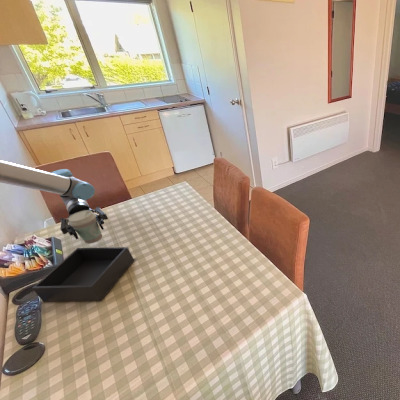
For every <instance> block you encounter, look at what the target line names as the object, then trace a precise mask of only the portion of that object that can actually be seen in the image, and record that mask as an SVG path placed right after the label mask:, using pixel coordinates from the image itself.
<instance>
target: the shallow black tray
mask: <svg viewBox="0 0 400 400" xmlns="http://www.w3.org/2000/svg"><path fill="white" fill-rule="evenodd" d="M133 262H135V259H134V257H133V254H132V253H131V252H130V249H129V247H128V246H119V247H118V246H115V247H114V246H112V247H77V248H76V249H74V250H73V252H71V253H70V254H68V256H67V257H65V258H64V259H63V260H62V261H61V262H59V264H57V266H55V267H54V268H53V269H52V270H51V271H49V272H48V273H47V274H46V275H45V276H44V277H43V278H42V279H40V280H39V281H38V282H37V283H36V284H35V285H34V286H33V287H31V289H32V290H33V291H34V292H35V293H36V295H37V296H38V297H39V298H40V300H41V301H42V302H43V303H55V302H56V303H57V302H58V303H59V302H61V303H62V302H97V301H98V302H101V301H102V300H103V299H104V298H105V296H106V295H107V294H108V293H109V292H110V291H111V289H112V288H113V287H114V286H115V284H116V283H117V282H118V281H119V279H120V278H121V277H122V275H124V273H126V271H127V270H128V269H129V267H130V266H131V265H132V264H133Z"/></svg>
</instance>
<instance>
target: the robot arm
mask: <svg viewBox="0 0 400 400" xmlns="http://www.w3.org/2000/svg"><path fill="white" fill-rule="evenodd" d="M0 183H2V184H6V185H10V186H11V185H12V186H16V187H22V188H25V189H32V190H36V191H42V192H47V193H52V194H55V195H56V194H57V195H59V197H60V198H61V200H62V202H63V204H64V205H65V208H66V211H67V213H68V216H67V218H64V217H62V218H60V219H59V221H60V228H59V229H60V231H61V233H62V234H63V235H67V234H68V235H69V236H73V237H74V238H75V240H79V236H78V233H77V232H76V231H75V229H74V228H73V227H72V226H71V225H69V220H68V219H69V217H70V216H71V215H73V214H75V213H77V212H81V211H86V210H89V211H92V212H93V213H94V214H95V215H96V220H97V223H98V226H99V228H100V230H101V231H103V230H105V229H104V226H103V225H104V224H105V223H106V222H105V221H106V220H108V219H109V217H108V215H107V213H106V212H105V211H103V210H102V209H101V207H100V206H96V207H95V208H94V209H92V208H91V206H90V205H89V203H88V201H87V200H90V199H92V198H93V196H94V195H95V194H96V190H95V187H94V185H92V184H91V183H89V182H88V181H84V180H81V179H79V178H76V177H74V174H73V173H72V172H71V170H70V169H67V168H62V169H57V170H54V171H51V172H49V171H45V170H41V169H36V168H33V167H29V166H24V165H21V164H16V163H13V162H9V161H5V160H1V159H0Z"/></svg>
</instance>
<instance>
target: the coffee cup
mask: <svg viewBox="0 0 400 400" xmlns="http://www.w3.org/2000/svg"><path fill="white" fill-rule="evenodd" d="M95 214H96V213H95V212H94V213H93V212H92V211H89V210H86V211H81V212H77V213H75V214H73V215H71V216H70V217H69V216H68V217H69V219H68V220H69V222H68V223H69V225H71V226H72V227H73V228H74V229H75V231H76V233H77V235H79V237H80V238H81V239H82V240H83V242H84V243H85V244H88V245H89V244H94V243H97V242H99V241H100V240H101V239H102V238H103V234H102V230H101V227H100V226H99V224H98V222H97V220H96V215H97V214H96V215H95Z"/></svg>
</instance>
